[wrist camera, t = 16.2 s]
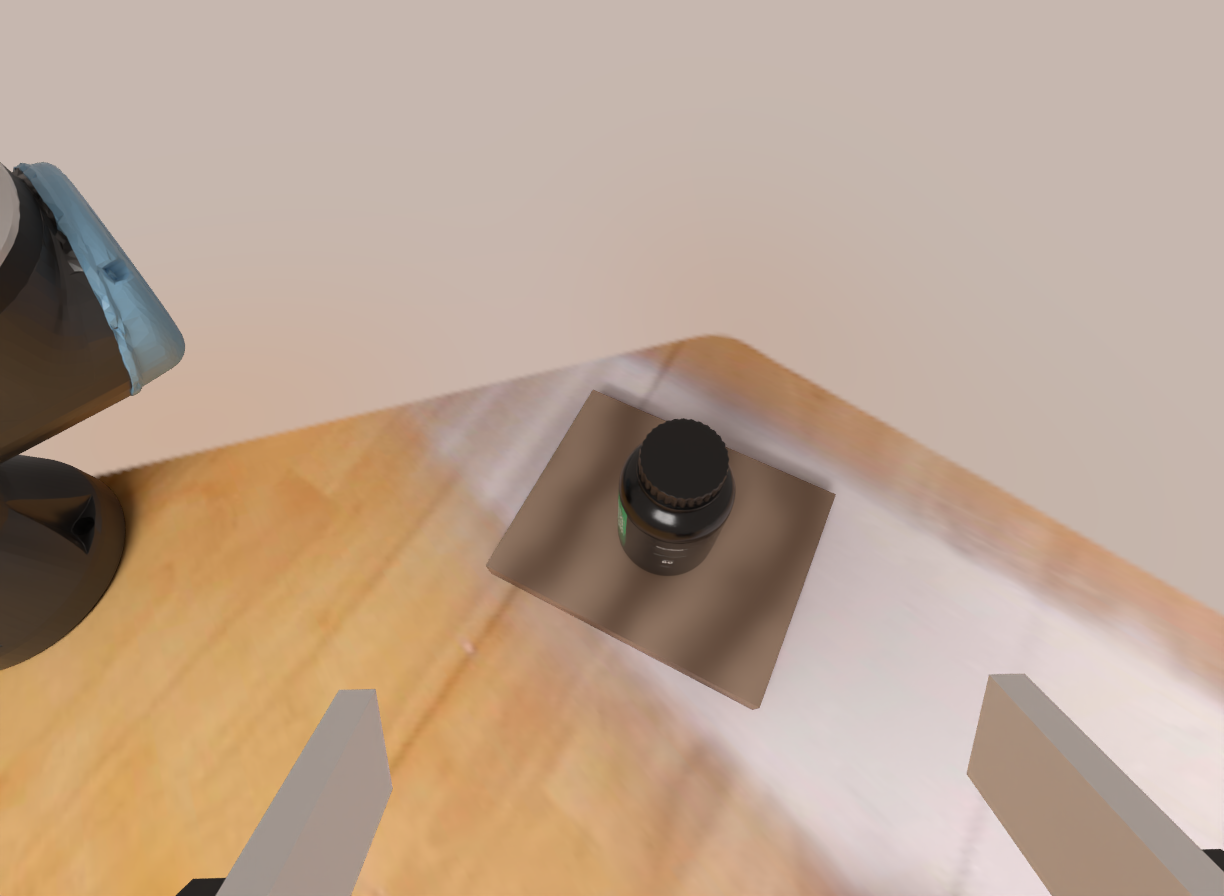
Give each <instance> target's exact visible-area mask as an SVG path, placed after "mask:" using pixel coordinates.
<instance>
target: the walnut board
mask: <svg viewBox="0 0 1224 896" xmlns="http://www.w3.org/2000/svg"><path fill="white" fill-rule="evenodd" d="M665 422H666V421H665V420H662V419H660V418H658V417H655V416H653V415H651V414H648V413H646V412H644V411H641V410H639V409H637V408H634V407H632V406H630V405H628V404H625V403H623V402H621V401H618V400H616V399H614V398H611V397H609V396H607V395H604V394H602V393H600V392H597V391H595V390H593V391H592V392H591V394H590V396H589V397H588V399H587V400H586V402H585V404H584V405H583V407H582V409H581V410H580V412H579V414H578V415H577V417H576V419H575V420H574V422H573V423H572V425H571V427H570V428H569V430H568V432H567V433H566V435H565V437H564V438H563V440H562V441H561V443H560V445H559V446H558V448H557V450H556V451H555V453H554V455H553V456H552V458H551V459H550V461H549V463H548V464H547V466H546V468H545V469H544V471H543V473H542V474H541V476H540V478H539V479H538V481H537V482H536V484H535V486H534V487H533V489H532V491H531V492H530V494H529V496H528V497H527V499H526V500H525V502H524V504H523V505H522V507H521V509H520V510H519V512H518V514H517V515H516V517H515V519H514V520H513V522H512V523H511V525H510V527H509V528H508V530H507V532H506V533H505V535H504V537H503V538H502V540H501V541H500V543H499V545H498V546H497V548H496V550H495V551H494V553H493V555H492V556H491V558H490V559H489V561H488V563H487V564H486V567H487V568H488V569H489V571H490V572H491V573H492V574H494V575H496V576H498V577H500V578H502V579H503V580H505V581H507V582H509V583H511V584H513V585H515V586H517V587H519V588H521V589H523V590H525V591H526V592H528V593H530V594H532V595H534V596H536V597H538V598H540V599H542V600H544V601H546V602H547V603H549V604H551V605H553V606H555V607H557V608H559V609H561V610H563V611H565V612H567V613H569V614H570V615H572V616H574V617H576V618H578V619H580V620H582V621H584V622H586V623H588V624H590V625H591V626H593V627H595V628H597V629H599V630H601V631H603V632H605V633H607V634H609V635H611V636H612V637H614V638H616V639H618V640H620V641H622V642H624V643H626V644H628V645H630V646H632V647H634V648H635V649H637V650H639V651H641V652H643V653H645V654H647V655H649V656H651V657H653V658H655V659H656V660H658V661H660V662H662V663H664V664H666V665H668V666H670V667H672V668H674V669H676V670H678V671H679V672H681V673H683V674H685V675H687V676H689V677H691V678H693V679H695V680H697V681H699V682H700V683H702V684H704V685H706V686H708V687H710V688H712V689H714V690H716V691H718V692H720V693H722V694H723V695H725V696H727V697H729V698H731V699H733V700H735V701H737V702H739V703H741V704H743V705H744V706H746V707H748V708H750V709H752V710H753V709H758V708H760V705H761V702H762V699H763V697H764V694H765V691H766V688H767V685H768V683H769V680H770V677H771V674H772V671H773V669H774V666H775V663H776V660H777V657H778V655H779V652H780V649H781V646H782V643H783V641H784V638H785V635H786V632H787V629H788V627H789V624H790V621H791V618H792V615H793V613H794V610H795V607H796V604H797V601H798V599H799V596H800V593H801V590H802V587H803V585H804V582H805V579H806V576H807V573H808V571H809V568H810V565H811V562H812V559H813V557H814V554H815V551H816V548H817V546H818V543H819V540H820V537H821V534H822V532H823V529H824V526H825V523H826V520H827V518H828V515H829V512H830V509H831V506H832V504H833V501H834V498H835V495H836V494H834V493H831V492H829V491H827V490H824V489H822V488H820V487H817V486H815V485H813V484H811V483H808V482H806V481H804V480H801V479H799V478H797V477H794V476H792V475H790V474H787V473H785V472H783V471H780V470H778V469H776V468H773V467H771V466H769V465H767V464H764V463H762V462H760V461H757V460H755V459H753V458H750V457H748V456H746V455H743V454H741V453H739V452H736V451H734V450H732V449H729V448H727V447H725V448H726V449H727V450H728V457H729V465H730V467H731V469H732V472H733V475H734V479H735V486H736V493H735V500H734V504H733V507H732V510H731V512H730V515H729V517H728V519H727V521H726V522H725V524H724V526H723V528H722V530H721V532H720V534H719V536H718V538H717V540H716V542H715V544H714V545H713V547H712V549H711V551H710V552H709V554H708V556H707V557H706V558H705V559H704V561H703V562H702V563H701V564H699V565H698V566H697V567H696V568H694V569H693V570H691V571H689V572H687V573H684V574H681V575H676V576H660V575H655V574H652V573H649V572H647V571H645V570H643V569H641V568H640V567H638V566H637V565H636V564H634V563H633V562H632V561H631V560H630V559H629V557H628V556H627V555H626V553H625V552H624V550H623V548H622V546H621V543H620V540H619V536H618V522H617V521H618V489H619V478H620V473H621V470H622V467H623V465H624V462H625V461H626V459H627V457H628V456H629V454H630V453H631V452H632V451H633V450H634V449H635V448H636V447H637V446H638V445H640V444H641V443H642V442H643V441H644V440H645V439H646V436H647V434H648V433H650V432H651V431H652V429H653V428H656V427H657V426H658V425H659V424H663V423H665Z"/></svg>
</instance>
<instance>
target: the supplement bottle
mask: <svg viewBox="0 0 1224 896" xmlns="http://www.w3.org/2000/svg"><path fill="white" fill-rule="evenodd" d="M735 493H736V486H735V479H734V475H733V472H732V469H731V467H730V465H729V457H728V450H727V449H726V448H725V443H724V442H723V441H722V439H721V437H720V436H719V435H717V434H716V432H715V431H714V430H712V429H710V427H709V426H708V425H704V424H702V423H701V422H696V421H694V420H692V419H690V420H686V419H684V418H683V419H680V420H679V419H674V420H672V421H666V422H665V423H663V424H659V425H658V426H657V427H656V428H653V429H652V431H651V432H650V433H648V434H647V436H646V439H645V440H644V441H643V442H642V443H641V444H640V445H638V446H637V447H636V448H635V449H634V450H633V451H632V452H631V453H630V454H629V456H628V457H627V459H626V461H625V462H624V465H623V467H622V470H621V473H620V478H619V489H618V521H617V522H618V536H619V540H620V543H621V546H622V548H623V550H624V552H625V553H626V555H627V556H628V557H629V559H630V560H631V561H632V562H633V563H634V564H636V565H637V566H638V567H640V568H641V569H643V570H645V571H647V572H649V573H652V574H655V575H660V576H676V575H681V574H684V573H687V572H689V571H691V570H693V569H694V568H696V567H697V566H698V565H699V564H701V563H702V562H703V561H704V559H705V558H706V557H707V556H708V554H709V552H710V551H711V549H712V547H713V545H714V544H715V542H716V540H717V538H718V536H719V534H720V532H721V530H722V528H723V526H724V524H725V522H726V521H727V519H728V517H729V515H730V512H731V510H732V507H733V504H734V500H735Z"/></svg>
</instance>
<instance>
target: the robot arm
mask: <svg viewBox="0 0 1224 896" xmlns="http://www.w3.org/2000/svg"><path fill="white" fill-rule="evenodd" d="M184 351H185V343H184V339H183V336H182V334H181V332H180V331H179V329H178V328H177V326H176V325H175V323H174V321H173V320H172V318H171V317H170V315H169V314H168V312H167V311H166V309H165V308H164V306H163V305H162V304H161V302H160V301H159V299H158V298H157V297H156V295H155V294H154V292H153V291H152V289H151V288H150V287H149V285H148V284H147V282H146V281H145V280H144V278H143V277H142V276H141V274H140V273H139V271H138V270H137V269H136V267H135V266H134V264H133V263H132V262H131V260H130V259H129V258H128V256H127V255H126V254H125V252H124V251H123V249H122V248H121V247H120V245H119V244H118V243H117V241H116V240H115V239H114V237H113V236H112V235H111V233H110V232H109V231H108V229H107V228H106V227H105V225H104V224H103V223H102V221H101V220H100V219H99V217H98V216H97V215H96V213H95V212H94V211H93V209H92V208H91V207H90V205H89V204H88V203H87V201H86V200H85V199H84V197H83V196H82V195H81V194H80V192H79V191H78V190H77V188H76V187H75V186H74V185H73V184H72V182H71V181H70V180H69V179H68V178H67V176H66V175H65V174H63V173H62V171H61V170H60V169H58V168H57V167H56V166H54V165H52V164H49V163H44V162H41V163H35V164H31V165H29V164H25V163H20V164H19V165H18V166H17V167H14V169H13V172H10V171H9V170H8V169H7V168H6V167H5V166H4V165H3V164H1V163H0V670H3V669H6V668H9V667H11V666H14V665H16V664H18V663H21V662H23V661H25V660H27V659H29V658H31V657H33V656H35V655H36V654H38V653H40V652H42V651H43V650H45V649H46V648H48V647H49V646H51V645H52V644H54V643H55V642H57V641H58V640H59V639H60V638H62V637H63V636H64V635H66V634H67V633H68V632H69V631H70V630H71V629H72V628H74V627H75V626H76V625H77V624H78V623H79V622H80V621H81V620H82V619H83V618H84V617H85V616H86V615H87V613H88V612H89V611H90V610H91V609H92V608H93V606H94V605H95V604H96V603H97V601H98V600H99V599H100V597H101V596H102V594H103V593H104V591H105V590H106V588H107V586H108V585H109V583H110V581H111V579H112V577H113V575H114V573H115V571H116V569H117V567H118V564H119V561H120V558H121V555H122V551H123V546H124V540H125V520H124V515H123V511H122V508H121V505H120V503H119V501H118V499H117V497H116V496H115V494H114V493H113V492H112V490H111V489H110V488H109V487H108V486H107V485H105V484H104V483H103V482H101V481H100V480H98V479H97V478H95V477H93V476H91V475H89V474H87V473H85V472H83V471H81V470H79V469H77V468H75V467H73V466H71V465H68V464H65V463H62V462H58V461H55V460H50V459H44V458H37V457H30V456H23V455H18V454H20V453H22V452H24V451H26V450H28V449H30V448H32V447H34V446H35V445H37V444H39V443H41V442H43V441H45V440H47V439H49V438H51V437H53V436H54V435H57V434H58V433H60V432H62V431H64V430H66V429H68V428H70V427H72V426H74V425H75V424H77V423H79V422H81V421H83V420H85V419H87V418H89V417H91V416H93V415H95V414H96V413H98V412H100V411H102V410H104V409H106V408H108V407H110V406H112V405H113V404H115V403H117V402H119V401H121V400H123V399H125V398H127V397H129V396H133V395H136V394H138V393H139V392H140V391H141V389H142V387H143V386H144V385H146V384H148V383H149V382H151V381H152V380H154V379H156V378H157V377H159V376H160V375H162V374H164V373H165V372H166V371H168V370H170V369H172V368H173V367H174V366H176V365H177V364H178V363H179V362H180V360H181V359H182V357H183V355H184ZM967 775H968V777H969V778H970V779H971V781H972V782H973V784H974V785H975V787H976V788H977V789H978V791H979V792H980V794H981V795H982V797H983V798H984V799H985V801H986V802H987V804H988V805H989V807H990V808H991V809H992V811H993V812H994V814H995V815H996V817H997V818H998V819H999V821H1000V822H1001V824H1002V825H1003V827H1004V828H1005V829H1006V831H1007V832H1008V834H1009V835H1010V837H1011V838H1012V839H1013V841H1014V842H1015V844H1016V845H1017V847H1018V848H1019V849H1020V851H1021V852H1022V854H1023V855H1024V857H1025V858H1026V859H1027V861H1028V862H1029V864H1030V865H1031V867H1032V868H1033V869H1034V871H1035V872H1036V874H1037V875H1038V877H1039V878H1040V879H1041V881H1042V882H1043V884H1044V885H1045V887H1046V888H1047V889H1048V891H1049V892H1050V894H1051V895H1052V896H1224V851H1223V850H1221V849H1206V850H1201V849H1200V848H1199V847H1198V846H1197V845H1196V844H1195V843H1194V842H1193V841H1192V840H1191V839H1190V838H1189V837H1188V836H1187V835H1186V834H1185V833H1184V832H1183V831H1182V830H1181V829H1180V828H1179V827H1178V826H1177V825H1176V824H1175V823H1174V822H1173V821H1172V820H1171V819H1170V818H1169V817H1168V816H1167V815H1166V814H1165V813H1164V812H1163V811H1162V810H1161V809H1160V808H1159V807H1158V806H1157V805H1156V804H1155V803H1154V802H1153V801H1152V800H1151V799H1150V798H1149V797H1148V796H1147V795H1146V794H1145V793H1144V792H1143V791H1142V790H1141V789H1140V788H1139V787H1138V786H1137V785H1136V784H1135V783H1134V782H1133V781H1132V780H1131V779H1130V778H1129V777H1128V776H1127V775H1126V774H1125V773H1124V772H1123V771H1122V770H1121V769H1120V768H1119V767H1118V766H1117V765H1116V764H1115V763H1114V762H1113V761H1112V760H1111V759H1110V758H1109V757H1108V756H1107V755H1106V754H1105V753H1104V752H1103V751H1102V750H1101V749H1100V748H1099V747H1098V746H1097V745H1096V744H1095V743H1094V742H1093V741H1092V740H1091V739H1090V738H1089V737H1088V736H1087V735H1086V734H1085V733H1084V732H1083V731H1082V730H1081V729H1080V728H1079V727H1078V726H1077V725H1076V724H1075V723H1074V722H1073V721H1072V720H1071V719H1070V718H1069V717H1068V716H1067V715H1066V714H1064V713H1063V712H1062V711H1061V710H1060V709H1059V708H1058V707H1057V706H1056V705H1055V704H1054V703H1053V702H1052V701H1051V700H1050V699H1049V698H1048V697H1047V696H1046V695H1045V694H1044V693H1043V692H1042V691H1041V690H1040V689H1039V688H1038V687H1037V686H1036V685H1035V684H1034V683H1033V682H1032V681H1031V680H1030V679H1029V678H1028V677H1027V676H1026V675H1025V674H994V675H989V678H988V682H987V686H986V691H985V695H984V700H983V704H982V708H981V713H980V717H979V722H978V726H977V730H976V735H975V739H974V744H973V748H972V752H971V757H970V761H969V765H968V770H967ZM392 789H393V788H392V782H391V776H390V770H389V765H388V759H387V753H386V747H385V742H384V736H383V730H382V724H381V719H380V713H379V707H378V701H377V695H376V690H375V689H362V690H339V691H338V693H337V694H336V696H335V698H334V699H333V701H332V703H331V704H330V706H329V708H328V709H327V711H326V713H325V714H324V716H323V718H322V719H321V721H320V723H319V724H318V726H317V728H316V729H315V731H314V733H313V734H312V736H311V738H310V739H309V741H308V743H307V744H306V746H305V748H304V749H303V751H302V753H301V754H300V756H299V758H298V759H297V761H296V763H295V764H294V766H293V768H292V769H291V771H290V773H289V774H288V776H287V778H286V779H285V781H284V783H283V784H282V786H281V788H280V789H279V791H278V793H277V794H276V796H275V798H274V799H273V801H272V803H271V804H270V806H269V808H268V809H267V811H266V813H265V814H264V816H263V818H262V819H261V821H260V823H259V824H258V826H257V828H256V829H255V831H254V833H253V834H252V836H251V838H250V839H249V841H248V843H247V844H246V846H245V848H244V849H243V851H242V853H241V854H240V856H239V858H238V859H237V861H236V863H235V864H234V866H233V868H232V869H231V871H230V873H229V874H228V876H227V878H208V879H192V880H191V881H190V882H189V883H188V884H187V885H186V886H185V887H184V888H183V889H182V890H181V891H180V892H179V893H178V894H177V895H176V896H351V894H352V891H353V889H354V886H355V884H356V881H357V879H358V876H359V874H360V871H361V868H362V866H363V863H364V861H365V858H366V856H367V853H368V851H369V848H370V845H371V843H372V840H373V838H374V835H375V833H376V830H377V827H378V825H379V822H380V820H381V817H382V815H383V812H384V810H385V807H386V804H387V802H388V799H389V797H390V794H391V792H392Z"/></svg>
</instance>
